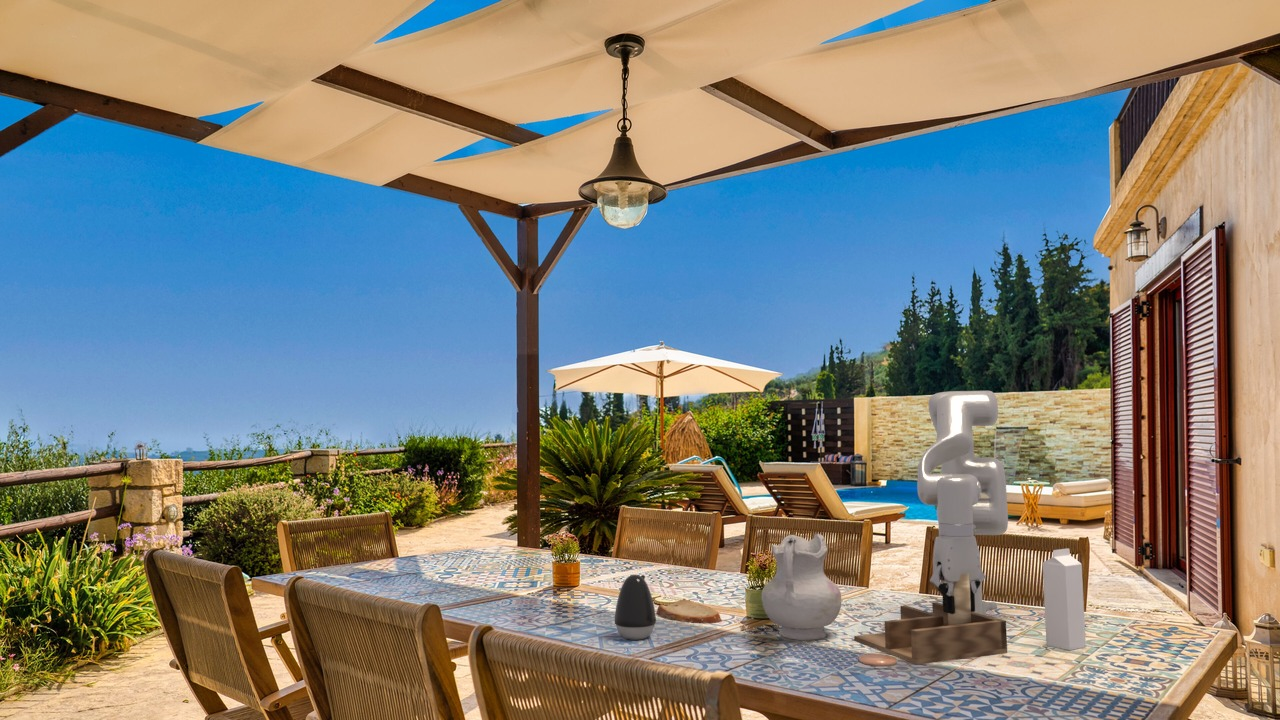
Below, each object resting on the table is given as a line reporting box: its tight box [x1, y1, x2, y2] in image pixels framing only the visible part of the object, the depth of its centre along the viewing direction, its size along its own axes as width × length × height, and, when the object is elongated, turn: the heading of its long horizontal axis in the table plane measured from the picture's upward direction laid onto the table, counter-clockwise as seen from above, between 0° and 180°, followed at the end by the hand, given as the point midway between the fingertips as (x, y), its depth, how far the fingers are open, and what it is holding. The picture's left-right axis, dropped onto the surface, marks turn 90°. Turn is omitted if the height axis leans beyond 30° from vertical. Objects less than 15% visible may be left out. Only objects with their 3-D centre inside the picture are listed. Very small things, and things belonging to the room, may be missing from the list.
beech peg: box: [947, 574, 971, 626], centre depth 202 cm, size 5×5×15 cm
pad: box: [858, 653, 898, 667], centre depth 193 cm, size 8×8×1 cm
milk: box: [1042, 547, 1087, 651], centre depth 205 cm, size 6×6×22 cm
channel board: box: [853, 601, 1008, 665], centre depth 206 cm, size 24×24×7 cm
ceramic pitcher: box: [760, 532, 842, 641], centre depth 218 cm, size 22×20×25 cm
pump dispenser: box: [614, 574, 657, 641], centre depth 219 cm, size 10×10×15 cm
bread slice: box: [656, 598, 723, 624], centre depth 242 cm, size 18×18×4 cm
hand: (959, 610), depth 202 cm, fingers closed on beech peg, 5 cm apart
